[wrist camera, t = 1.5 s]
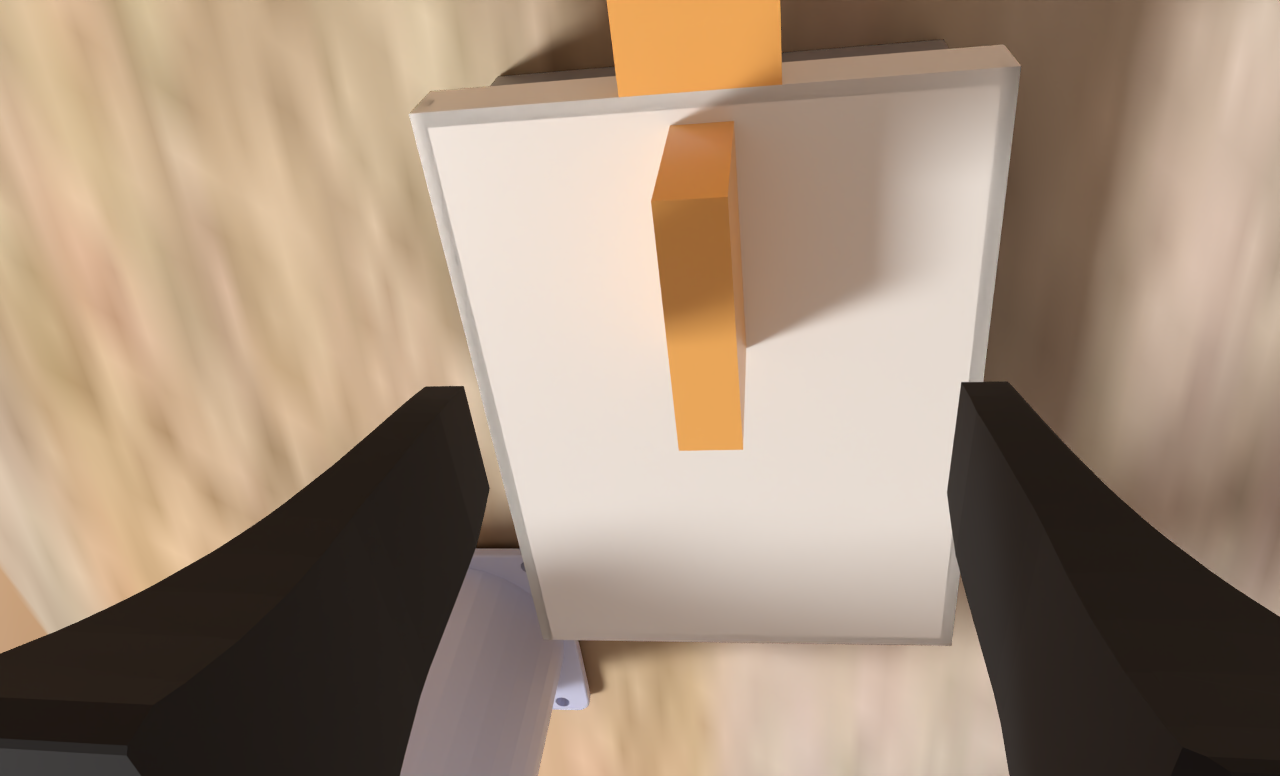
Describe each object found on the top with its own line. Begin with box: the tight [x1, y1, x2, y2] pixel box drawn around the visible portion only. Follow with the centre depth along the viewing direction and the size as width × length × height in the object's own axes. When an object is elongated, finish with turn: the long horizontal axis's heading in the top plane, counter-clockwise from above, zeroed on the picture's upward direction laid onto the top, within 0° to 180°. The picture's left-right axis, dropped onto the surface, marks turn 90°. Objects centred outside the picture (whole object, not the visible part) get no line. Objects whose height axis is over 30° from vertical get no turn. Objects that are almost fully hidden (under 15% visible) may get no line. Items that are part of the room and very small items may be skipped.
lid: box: [409, 0, 1021, 646], centre depth 20 cm, size 11×17×5 cm, turn 7°
